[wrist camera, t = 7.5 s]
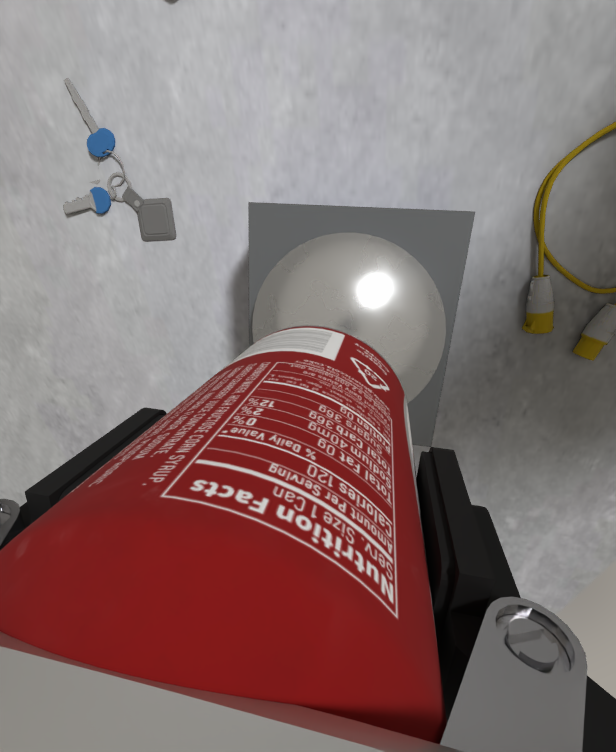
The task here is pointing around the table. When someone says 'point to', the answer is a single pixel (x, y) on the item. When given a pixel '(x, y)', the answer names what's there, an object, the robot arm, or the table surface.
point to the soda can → (251, 544)
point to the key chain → (150, 212)
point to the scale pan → (359, 301)
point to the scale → (400, 226)
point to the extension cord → (540, 286)
